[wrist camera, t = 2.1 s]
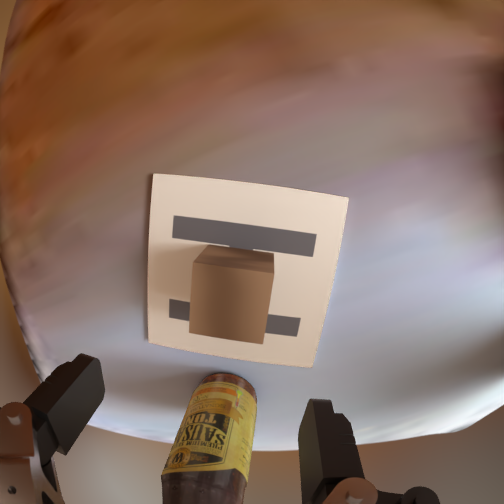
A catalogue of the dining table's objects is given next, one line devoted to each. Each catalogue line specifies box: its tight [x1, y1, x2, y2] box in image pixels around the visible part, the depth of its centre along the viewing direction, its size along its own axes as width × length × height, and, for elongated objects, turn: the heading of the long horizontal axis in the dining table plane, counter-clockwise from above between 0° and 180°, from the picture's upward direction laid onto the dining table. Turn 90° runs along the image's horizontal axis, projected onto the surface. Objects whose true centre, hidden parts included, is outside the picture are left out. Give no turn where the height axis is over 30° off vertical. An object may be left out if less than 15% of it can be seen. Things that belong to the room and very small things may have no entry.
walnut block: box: [189, 244, 274, 344], centre depth 21 cm, size 5×5×5 cm
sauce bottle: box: [161, 373, 257, 504], centre depth 18 cm, size 7×6×20 cm
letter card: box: [148, 174, 349, 368], centre depth 24 cm, size 15×15×1 cm
